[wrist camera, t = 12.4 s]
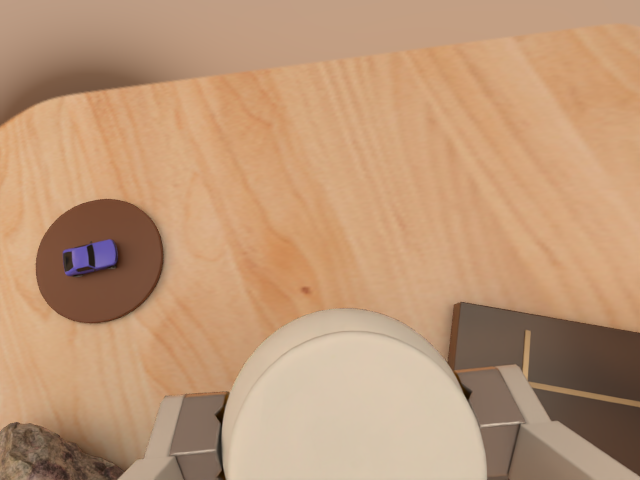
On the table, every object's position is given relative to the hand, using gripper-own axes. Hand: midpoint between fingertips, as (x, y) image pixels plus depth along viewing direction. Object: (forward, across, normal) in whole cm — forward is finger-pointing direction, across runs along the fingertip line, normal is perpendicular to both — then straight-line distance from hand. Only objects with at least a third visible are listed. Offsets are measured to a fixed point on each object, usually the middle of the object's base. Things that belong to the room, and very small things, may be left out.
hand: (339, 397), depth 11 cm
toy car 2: (+18, +14, +6) cm, 24 cm away
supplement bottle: (+4, 0, +4) cm, 6 cm away
